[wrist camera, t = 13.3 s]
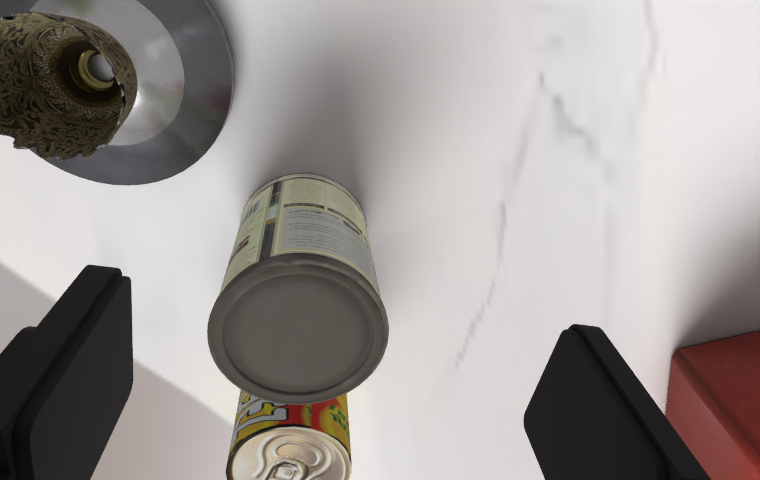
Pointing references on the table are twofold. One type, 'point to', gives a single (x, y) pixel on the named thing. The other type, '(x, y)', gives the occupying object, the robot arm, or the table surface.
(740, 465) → the plant pot
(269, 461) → the yellow tin can
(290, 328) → the coffee can
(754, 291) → the table surface
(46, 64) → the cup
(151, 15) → the gray dinner plate
